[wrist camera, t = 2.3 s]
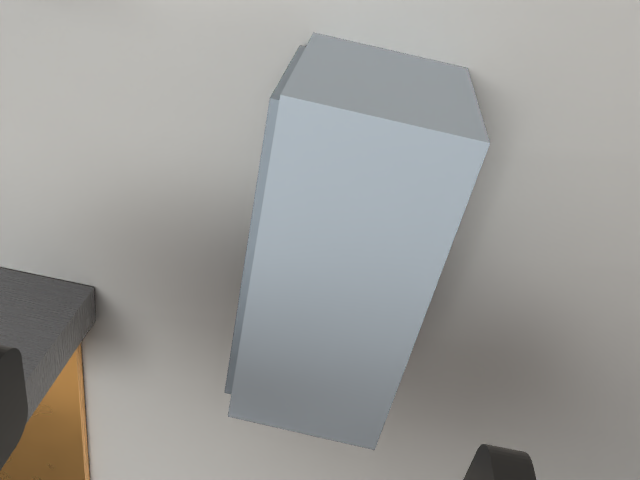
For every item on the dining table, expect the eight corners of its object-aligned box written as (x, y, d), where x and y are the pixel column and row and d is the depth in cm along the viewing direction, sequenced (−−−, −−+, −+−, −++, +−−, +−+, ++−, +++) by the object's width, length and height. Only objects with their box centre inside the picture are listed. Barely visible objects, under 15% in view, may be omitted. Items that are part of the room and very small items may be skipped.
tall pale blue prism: (304, 28, 15) (267, 91, 11) (467, 66, 16) (490, 143, 11) (257, 299, 20) (218, 414, 16) (380, 328, 20) (374, 450, 16)
